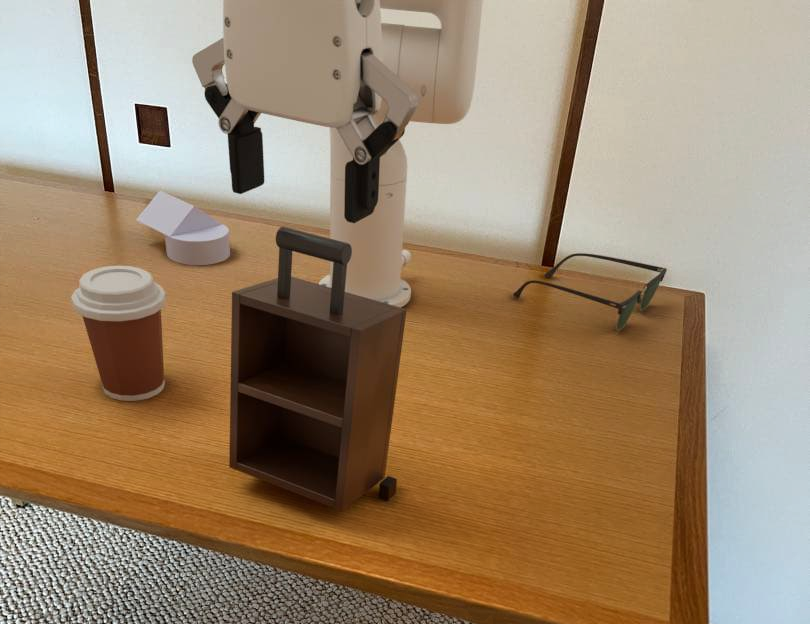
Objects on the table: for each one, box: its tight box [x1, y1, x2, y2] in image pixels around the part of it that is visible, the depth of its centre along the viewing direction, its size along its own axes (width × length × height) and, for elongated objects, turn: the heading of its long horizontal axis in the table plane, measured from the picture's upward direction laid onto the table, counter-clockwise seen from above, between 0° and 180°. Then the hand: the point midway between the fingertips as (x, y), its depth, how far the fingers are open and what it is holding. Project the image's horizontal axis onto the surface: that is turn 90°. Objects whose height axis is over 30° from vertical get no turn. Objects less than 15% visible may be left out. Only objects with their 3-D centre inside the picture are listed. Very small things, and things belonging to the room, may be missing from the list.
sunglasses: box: [512, 252, 668, 331], centre depth 112 cm, size 16×17×5 cm
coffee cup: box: [70, 265, 167, 402], centre depth 84 cm, size 9×9×12 cm
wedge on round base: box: [135, 190, 231, 266], centre depth 117 cm, size 9×7×13 cm
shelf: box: [228, 226, 408, 511], centre depth 69 cm, size 21×12×8 cm
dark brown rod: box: [378, 475, 398, 502], centre depth 78 cm, size 2×15×2 cm, turn 62°
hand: (302, 202), depth 60 cm, fingers open, 9 cm apart
